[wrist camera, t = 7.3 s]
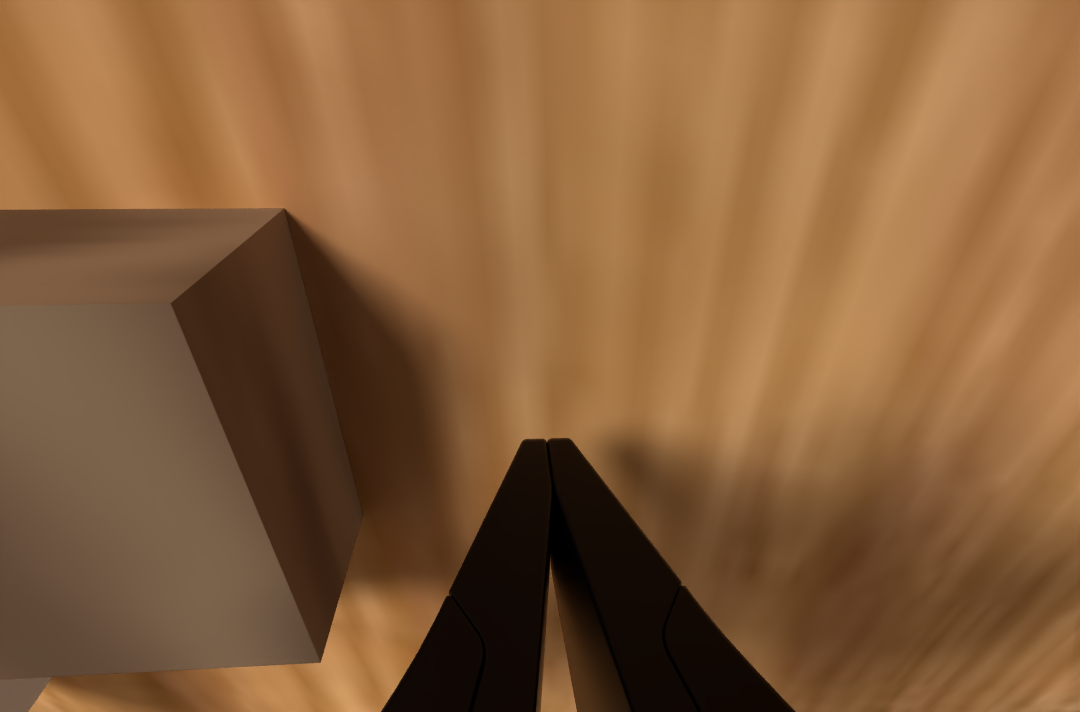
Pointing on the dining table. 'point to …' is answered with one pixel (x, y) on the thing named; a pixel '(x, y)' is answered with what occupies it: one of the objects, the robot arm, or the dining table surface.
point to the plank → (20, 693)
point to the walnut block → (164, 446)
